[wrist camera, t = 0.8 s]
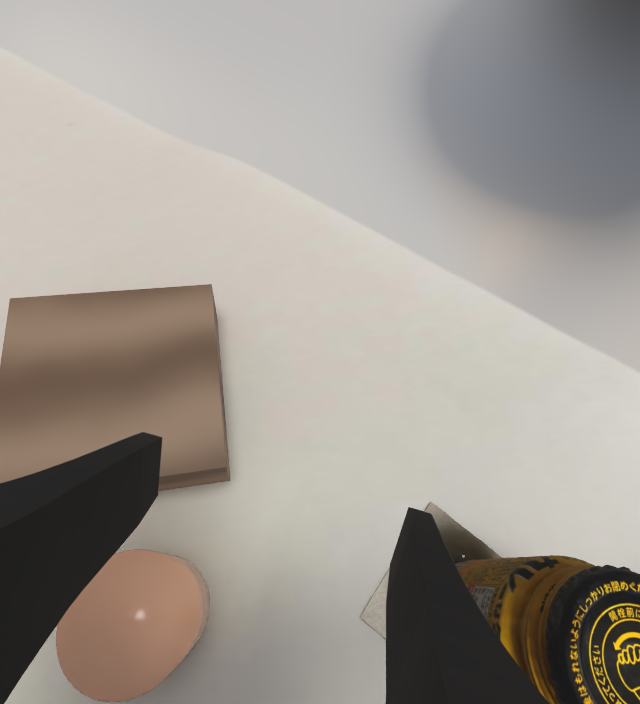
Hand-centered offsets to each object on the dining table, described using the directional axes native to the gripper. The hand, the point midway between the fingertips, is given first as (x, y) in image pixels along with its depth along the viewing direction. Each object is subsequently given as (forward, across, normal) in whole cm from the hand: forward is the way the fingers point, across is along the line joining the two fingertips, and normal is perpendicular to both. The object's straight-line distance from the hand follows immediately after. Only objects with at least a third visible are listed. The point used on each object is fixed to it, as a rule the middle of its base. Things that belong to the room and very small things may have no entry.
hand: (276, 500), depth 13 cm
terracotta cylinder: (+5, +6, +13) cm, 15 cm away
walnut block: (+12, +12, +6) cm, 18 cm away
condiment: (+10, -10, +11) cm, 18 cm away
